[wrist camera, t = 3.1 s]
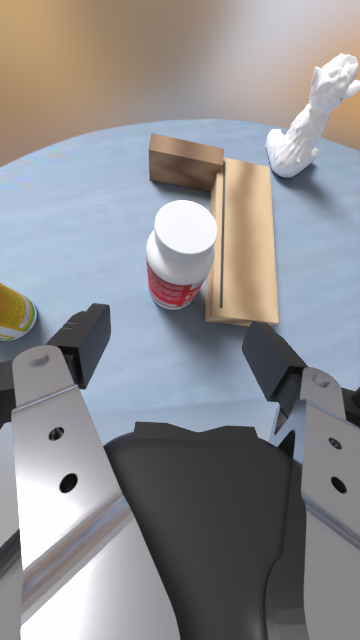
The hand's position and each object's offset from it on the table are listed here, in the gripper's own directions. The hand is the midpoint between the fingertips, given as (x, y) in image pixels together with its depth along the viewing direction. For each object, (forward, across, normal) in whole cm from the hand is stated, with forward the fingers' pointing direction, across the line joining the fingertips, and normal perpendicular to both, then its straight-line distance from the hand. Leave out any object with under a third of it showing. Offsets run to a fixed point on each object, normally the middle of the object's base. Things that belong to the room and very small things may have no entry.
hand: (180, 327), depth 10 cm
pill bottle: (+14, 0, +3) cm, 14 cm away
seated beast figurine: (+32, -18, -15) cm, 40 cm away
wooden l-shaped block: (+19, -4, -3) cm, 20 cm away
